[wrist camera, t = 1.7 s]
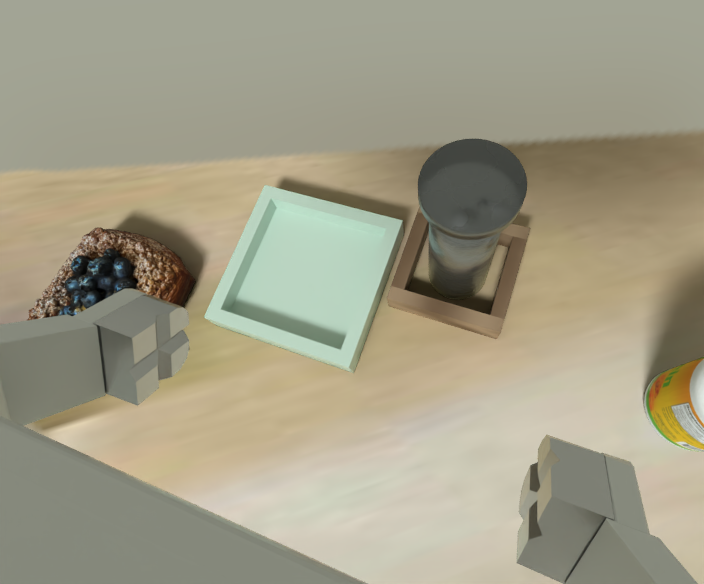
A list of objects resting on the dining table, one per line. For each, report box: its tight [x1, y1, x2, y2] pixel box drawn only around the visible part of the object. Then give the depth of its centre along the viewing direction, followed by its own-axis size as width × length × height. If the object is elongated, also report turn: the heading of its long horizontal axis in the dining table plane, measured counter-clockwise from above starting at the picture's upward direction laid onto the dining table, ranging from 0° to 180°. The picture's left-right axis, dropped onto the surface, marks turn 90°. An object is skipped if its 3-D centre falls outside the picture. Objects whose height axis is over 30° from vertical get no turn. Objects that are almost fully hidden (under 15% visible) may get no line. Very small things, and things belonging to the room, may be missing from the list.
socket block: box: [387, 207, 530, 339], centre depth 36 cm, size 8×8×2 cm
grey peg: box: [418, 139, 527, 300], centre depth 31 cm, size 6×6×13 cm
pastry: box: [27, 228, 195, 321], centre depth 38 cm, size 11×12×6 cm
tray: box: [204, 185, 404, 373], centre depth 38 cm, size 12×12×2 cm
